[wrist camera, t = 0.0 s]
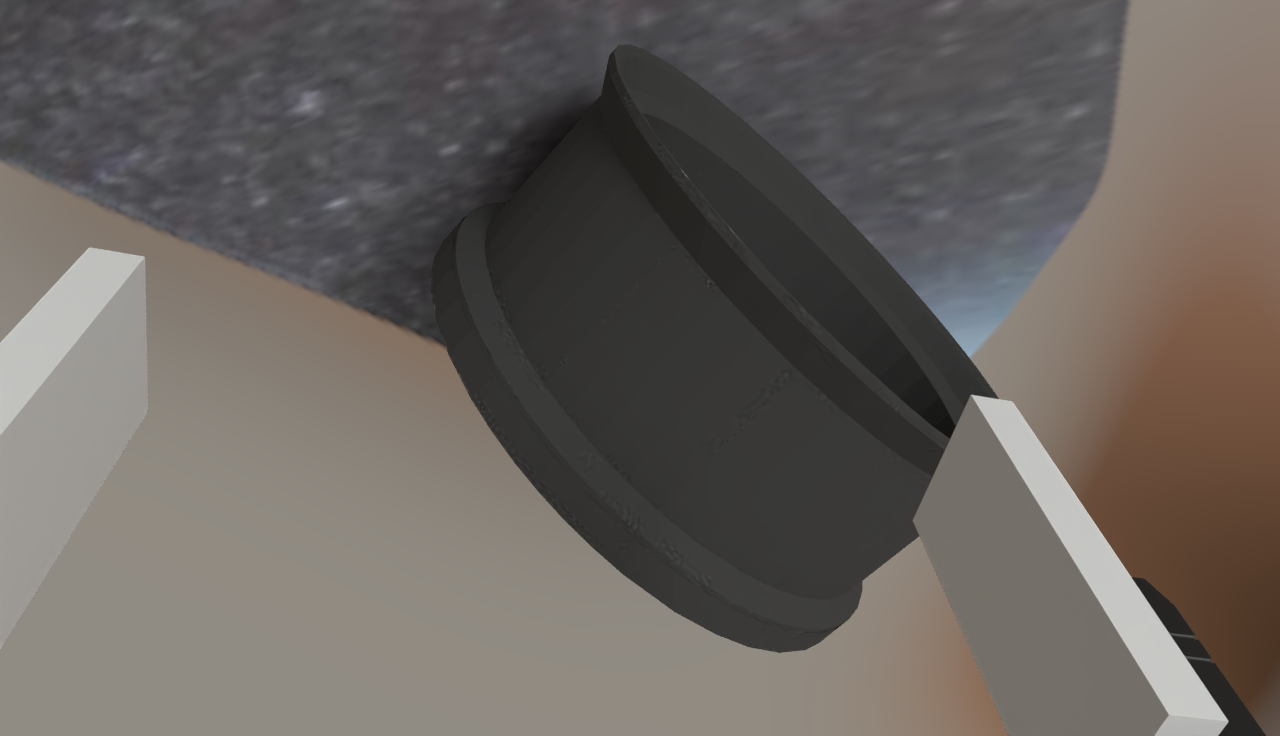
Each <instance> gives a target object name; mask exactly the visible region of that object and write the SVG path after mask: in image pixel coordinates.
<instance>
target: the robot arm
mask: <svg viewBox="0 0 1280 736" xmlns="http://www.w3.org/2000/svg"><path fill="white" fill-rule="evenodd" d="M145 284H146V282H145V257H143V256H138V255H132V254H126V253H119V252H114V251H107V250H102V249H96V248H90V247H89V248H88V249H87V250H86V251H85V253H84V254H83V255H82V256H81V257H80V258H79V259H78V260H77V261H76V262H75V263H74V264H73V265H72V267H71V268H70V269H69V270H68V271H67V272H66V273H65V274H64V275H63V276H62V277H61V278H60V280H58V282H57V283H56V284H55V285H54V286H53V287H52V288H51V289H50V290H49V291H48V292H47V293H46V294H45V295H44V297H43V298H42V299H41V300H40V301H39V302H38V303H37V304H36V305H35V306H34V307H33V308H32V309H31V310H30V311H29V313H28V314H27V315H26V316H25V317H24V318H23V319H22V320H21V321H20V322H19V323H18V324H17V325H16V326H15V328H14V329H13V330H12V331H11V332H10V333H9V334H8V335H7V336H6V337H5V338H4V340H2V341H1V343H0V649H1V648H2V646H3V645H4V643H5V641H6V640H7V638H8V637H9V635H10V633H11V632H12V630H13V628H14V627H15V625H16V624H17V622H18V620H19V618H20V617H21V616H22V614H23V612H24V611H25V609H26V607H27V606H28V604H29V602H30V601H31V599H32V598H33V596H34V594H35V593H36V591H37V590H38V588H39V586H40V585H41V583H42V582H43V580H44V578H45V577H46V575H47V573H48V572H49V570H50V569H51V567H52V565H53V564H54V562H55V560H56V559H57V557H58V556H59V554H60V552H61V551H62V549H63V548H64V546H65V544H66V543H67V541H68V540H69V538H70V536H71V535H72V533H73V531H74V530H75V528H76V527H77V525H78V523H79V522H80V520H81V519H82V517H83V515H84V514H85V512H86V511H87V509H88V507H89V506H90V504H91V502H92V501H93V499H94V498H95V496H96V494H97V493H98V491H99V490H100V488H101V486H102V485H103V483H104V481H105V480H106V478H107V477H108V475H109V473H110V472H111V470H112V468H113V467H114V465H115V464H116V462H117V460H118V459H119V457H120V455H121V454H122V452H123V451H124V449H125V447H126V446H127V444H128V443H129V441H130V439H131V438H132V436H133V434H134V433H135V431H136V430H137V428H138V426H139V425H140V423H141V422H142V420H143V418H144V417H145V415H146V413H147V412H148V389H147V388H148V387H147V386H148V385H147V338H146V337H147V333H146V285H145ZM913 523H914V525H915V527H916V529H917V532H918V534H919V536H920V538H921V540H922V543H923V545H924V547H925V549H926V552H927V554H928V556H929V558H930V560H931V563H932V565H933V567H934V569H935V572H936V574H937V576H938V579H939V581H940V583H941V585H942V588H943V590H944V592H945V594H946V597H947V599H948V601H949V603H950V606H951V608H952V610H953V612H954V615H955V617H956V619H957V621H958V624H959V626H960V628H961V630H962V632H963V635H964V637H965V639H966V642H967V644H968V646H969V648H970V650H971V653H972V655H973V657H974V660H975V662H976V664H977V666H978V669H979V671H980V673H981V675H982V677H983V680H984V682H985V684H986V686H987V689H988V691H989V693H990V695H991V698H992V700H993V702H994V704H995V707H996V709H997V711H998V713H999V716H1000V718H1001V720H1002V722H1003V725H1004V727H1005V729H1006V731H1007V734H1008V736H1266V735H1265V734H1264V732H1263V731H1262V729H1261V728H1260V726H1259V725H1258V724H1257V722H1256V721H1255V719H1254V718H1253V716H1252V715H1251V714H1250V712H1249V711H1248V709H1247V708H1246V707H1245V705H1244V704H1243V702H1242V701H1241V699H1240V698H1239V697H1238V695H1237V694H1236V693H1235V691H1234V689H1233V688H1232V687H1231V685H1230V684H1229V682H1228V681H1227V680H1226V678H1225V677H1224V675H1223V674H1222V672H1221V671H1220V670H1219V668H1218V667H1217V665H1216V664H1215V663H1211V662H1210V659H1211V657H1210V655H1209V654H1208V653H1207V651H1206V650H1205V648H1204V647H1203V646H1202V644H1201V643H1200V641H1199V640H1195V639H1194V633H1193V631H1192V630H1191V628H1190V627H1189V626H1188V624H1187V623H1186V621H1185V620H1184V619H1183V617H1182V616H1181V614H1180V613H1179V611H1178V610H1177V608H1176V607H1175V606H1174V605H1173V604H1172V603H1171V602H1170V601H1169V600H1168V599H1166V598H1165V597H1164V596H1163V595H1162V594H1161V593H1160V592H1159V591H1157V590H1156V589H1155V588H1154V587H1153V586H1152V585H1151V584H1150V583H1148V582H1147V581H1146V580H1145V579H1142V578H1135V577H1131V576H1130V575H1129V573H1128V572H1127V570H1126V569H1125V567H1124V566H1123V564H1122V563H1121V561H1120V560H1119V558H1118V557H1117V555H1116V554H1115V552H1114V551H1113V550H1112V548H1111V547H1110V545H1109V544H1108V542H1107V541H1106V539H1105V538H1104V536H1103V535H1102V533H1101V532H1100V530H1099V529H1098V527H1097V526H1096V525H1095V523H1094V521H1093V520H1092V519H1091V517H1090V515H1089V514H1088V513H1087V511H1086V510H1085V508H1084V507H1083V505H1082V504H1081V502H1080V501H1079V500H1078V498H1077V496H1076V495H1075V493H1074V492H1073V490H1072V489H1071V487H1070V486H1069V484H1068V483H1067V481H1066V480H1065V479H1064V477H1063V476H1062V474H1061V473H1060V471H1059V470H1058V468H1057V467H1056V465H1055V464H1054V463H1053V461H1052V459H1051V458H1050V456H1049V455H1048V453H1047V452H1046V450H1045V449H1044V448H1043V446H1042V444H1041V443H1040V441H1039V440H1038V439H1037V437H1036V436H1035V434H1034V433H1033V431H1032V430H1031V428H1030V427H1029V425H1028V424H1027V422H1026V421H1025V419H1024V418H1023V416H1022V415H1021V413H1020V412H1019V410H1018V409H1017V408H1016V406H1015V405H1014V404H1013V402H1012V401H1006V400H1000V399H994V398H988V397H982V396H976V395H970V398H969V400H968V402H967V404H966V406H965V408H964V410H963V413H962V415H961V417H960V419H959V421H958V423H957V426H956V428H955V430H954V432H953V434H952V436H951V439H950V441H949V443H948V445H947V447H946V449H945V452H944V454H943V456H942V458H941V460H940V462H939V465H938V467H937V469H936V471H935V473H934V475H933V478H932V480H931V482H930V484H929V486H928V488H927V491H926V493H925V495H924V497H923V499H922V501H921V504H920V506H919V508H918V510H917V512H916V514H915V516H914V519H913Z"/></svg>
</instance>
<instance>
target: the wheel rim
mask: <svg viewBox="0 0 1280 736" xmlns="http://www.w3.org/2000/svg"><path fill="white" fill-rule="evenodd" d="M431 293H432V298H433V304H434V309H435V314H436V319H437V322H438V325H439V328H440V331H441V334H442V337H443V340H444V343H445V345H446V348H447V351H448V354H449V356H450V358H451V360H452V362H453V364H454V366H455V368H456V370H457V372H458V374H459V376H460V378H461V380H462V382H463V384H464V386H465V388H466V390H467V392H468V394H469V396H470V398H471V399H472V401H473V403H474V404H475V406H476V407H477V409H478V410H479V412H480V414H481V415H482V416H483V418H484V420H485V421H486V423H487V425H488V426H489V428H490V429H491V431H492V432H493V433H494V435H495V436H496V438H497V439H498V441H499V442H500V443H501V445H502V446H503V447H504V449H505V450H506V452H507V453H508V454H509V456H510V457H511V458H512V460H513V461H514V463H515V464H516V465H517V466H518V467H519V469H520V470H521V471H522V472H523V473H524V475H525V476H526V477H527V478H528V480H529V481H530V482H531V483H532V484H533V486H534V487H535V488H536V489H537V491H538V492H539V493H540V494H541V495H542V496H543V497H544V498H545V499H546V500H547V502H548V503H549V504H550V505H551V506H552V507H553V508H554V509H555V510H556V511H557V513H558V514H559V515H560V516H561V517H562V518H563V519H564V520H565V521H566V522H567V523H568V524H569V525H570V526H571V527H572V528H573V529H574V530H575V531H576V532H577V533H578V534H579V535H580V536H581V537H582V538H583V539H584V540H585V541H586V542H587V543H588V544H590V546H591V547H593V548H594V549H595V550H596V551H597V552H598V553H600V554H601V555H602V556H603V557H604V558H605V559H606V560H607V561H608V562H610V563H611V564H612V565H613V566H614V567H615V568H616V569H618V570H619V571H620V572H621V573H622V574H623V575H625V576H626V577H627V578H629V579H630V580H631V581H633V582H634V583H636V584H637V585H638V586H640V587H641V588H643V589H644V590H645V591H647V592H648V593H649V594H651V595H652V596H654V597H655V598H656V599H658V600H659V601H660V602H662V603H663V604H665V605H666V606H667V607H669V608H670V609H672V610H673V611H674V612H676V613H678V614H680V615H681V616H683V617H685V618H687V619H689V620H691V621H693V622H694V623H696V624H698V625H700V626H702V627H704V628H705V629H707V630H709V631H711V632H713V633H715V634H717V635H719V636H722V637H724V638H727V639H729V640H732V641H735V642H737V643H740V644H742V645H745V646H748V647H751V648H757V649H762V650H768V651H773V652H779V653H781V652H791V651H800V650H806V649H808V648H810V647H812V646H814V645H816V644H818V643H819V642H821V641H822V640H823V639H824V638H826V637H827V636H828V635H829V634H831V633H832V632H833V631H834V630H836V629H837V628H838V627H839V626H841V625H842V624H843V623H844V622H846V621H847V620H848V619H849V618H850V617H851V615H852V614H853V613H854V612H855V610H856V609H857V607H858V604H859V601H860V597H861V593H862V580H864V579H865V578H866V577H867V576H869V575H870V574H871V573H873V572H874V571H875V570H877V569H878V568H879V567H880V566H881V565H883V564H884V563H885V562H887V561H888V560H889V559H891V558H892V557H893V556H894V555H896V554H897V553H898V552H899V551H901V550H902V549H903V548H905V547H906V546H907V545H908V544H910V543H911V542H912V541H914V540H915V539H916V538H917V537H919V534H918V532H917V529H916V527H915V525H914V523H913V519H914V516H915V514H916V512H917V510H918V508H919V506H920V504H921V501H922V499H923V497H924V495H925V493H926V491H927V488H928V486H929V484H930V482H931V480H932V478H933V475H934V473H935V471H936V469H937V467H938V465H939V462H940V460H941V458H942V456H943V454H944V452H945V449H946V447H947V445H948V443H949V441H950V439H951V436H952V434H953V432H954V430H955V428H956V426H957V423H958V421H959V419H960V417H961V415H962V413H963V410H964V408H965V406H966V404H967V402H968V400H969V398H970V395H976V396H982V397H988V398H994V399H999V398H998V397H997V395H996V394H995V392H994V391H993V390H992V388H991V387H990V385H989V384H988V383H987V381H986V380H985V379H984V377H983V376H982V374H981V373H980V372H979V370H978V369H977V368H976V366H975V365H974V364H973V362H972V361H971V360H970V358H969V357H968V356H967V354H966V353H965V352H964V351H963V349H962V348H961V347H960V346H959V344H958V343H957V342H956V341H955V339H954V338H953V337H952V336H951V334H950V333H949V332H948V331H947V329H946V328H945V327H944V326H943V325H942V323H941V322H940V321H939V320H938V319H937V317H936V316H935V315H934V314H933V313H932V311H931V310H930V309H929V308H928V307H927V306H926V304H925V303H924V302H923V301H922V300H921V299H920V297H919V296H918V295H917V294H916V293H915V292H914V290H913V289H912V288H911V287H910V286H909V285H908V284H907V283H906V281H905V280H904V279H903V278H902V277H901V276H900V275H899V274H898V273H897V271H896V270H895V269H894V268H893V267H892V266H891V265H890V264H889V263H888V261H887V260H886V259H885V258H884V257H883V256H882V255H881V254H880V253H879V252H878V251H877V250H876V249H875V247H874V246H873V245H872V244H871V243H870V242H869V241H868V240H867V239H866V238H865V237H864V236H863V235H862V234H861V233H860V232H859V231H858V229H857V228H856V227H855V226H854V225H853V224H852V223H851V222H850V221H849V220H848V219H847V218H846V217H845V216H844V215H843V214H842V213H841V212H840V211H839V210H838V209H837V208H836V207H835V206H834V205H833V204H832V203H831V202H830V201H829V200H828V199H827V198H826V197H825V196H824V195H823V194H822V193H821V192H820V191H819V190H818V189H817V188H816V187H815V186H814V185H813V184H812V183H811V182H810V181H809V180H808V179H807V178H806V177H805V176H804V175H803V174H801V173H800V172H799V171H798V170H797V169H796V168H795V167H794V166H793V165H792V164H791V163H790V162H789V161H788V160H787V159H786V158H784V157H783V156H782V155H781V154H780V153H779V152H778V151H777V150H776V149H775V148H774V147H772V146H771V145H770V144H769V143H768V142H767V141H766V140H765V139H764V138H763V137H761V136H760V135H759V134H758V133H757V132H756V131H755V130H753V129H752V128H751V127H750V126H749V125H748V124H747V123H745V122H744V121H743V120H742V119H741V118H740V117H738V116H737V115H736V114H735V113H734V112H732V111H731V110H730V109H729V108H728V107H726V106H725V105H724V104H723V103H722V102H720V101H719V100H718V99H716V98H715V97H714V96H713V95H711V94H710V93H709V92H708V91H706V90H705V89H704V88H702V87H701V86H700V85H698V84H697V83H696V82H694V81H693V80H692V79H690V78H689V77H687V76H686V75H685V74H683V73H682V72H680V71H679V70H677V69H676V68H675V67H673V66H671V65H670V64H668V63H667V62H665V61H663V60H662V59H660V58H659V57H657V56H655V55H653V54H651V53H649V52H647V51H645V50H643V49H640V48H637V47H635V46H632V45H619V46H618V47H617V48H616V49H615V50H614V51H613V52H612V53H611V54H610V56H609V60H608V65H607V70H606V75H605V80H604V84H603V89H602V94H601V96H600V97H599V98H598V100H597V101H596V102H595V103H594V104H593V105H592V106H591V107H590V109H589V110H588V111H587V112H586V113H585V114H584V115H583V117H582V118H581V119H580V120H579V121H578V122H577V123H576V124H575V126H574V127H573V128H572V129H571V130H570V131H569V132H568V134H567V135H566V136H565V137H564V138H563V139H562V140H561V141H560V143H559V144H558V145H557V146H556V147H555V148H554V149H553V151H552V152H551V153H550V154H549V155H548V156H547V157H546V159H545V160H544V161H543V162H542V163H541V164H540V165H539V166H538V168H537V169H536V170H535V171H534V172H533V173H532V174H531V176H530V177H529V178H528V179H527V180H526V181H525V182H524V183H523V185H522V186H521V187H520V188H519V189H518V190H517V191H516V193H515V194H514V195H513V196H512V197H511V198H510V199H509V200H508V202H507V203H495V204H486V205H484V206H482V207H480V208H478V209H475V210H473V211H471V213H470V214H469V215H468V216H467V217H465V218H464V219H462V221H461V222H460V223H459V224H458V225H457V226H456V228H455V229H454V230H453V231H452V232H451V233H450V234H449V236H448V237H447V238H446V239H445V240H444V241H443V243H442V245H441V247H440V248H439V250H438V252H437V254H436V255H435V258H434V262H433V267H432V272H431Z"/></svg>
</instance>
